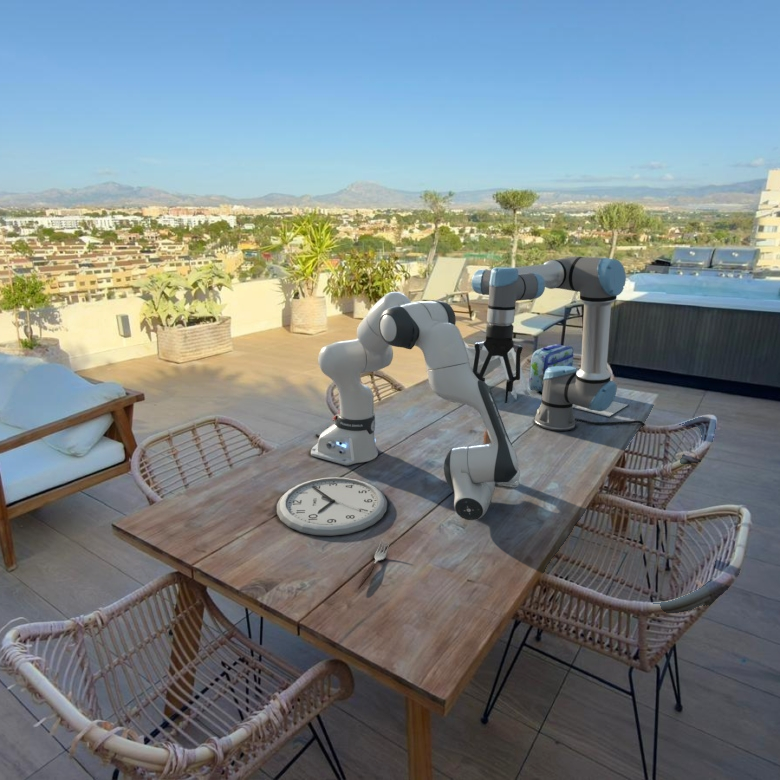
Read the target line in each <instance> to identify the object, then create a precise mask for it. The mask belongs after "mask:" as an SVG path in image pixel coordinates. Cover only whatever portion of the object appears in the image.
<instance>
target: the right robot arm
mask: <svg viewBox="0 0 780 780" xmlns="http://www.w3.org/2000/svg"><path fill="white" fill-rule="evenodd" d="M626 277H627V275H626V269H625V267H624V265H623V264H622V262H621V261H620V260H618V259H615V258H609V257H597V256H595V257H593V256H569V257H564V258H557V259H550V260H548V261H545V262H544V263H543V264H534V265H526V266H516V267H508V266H507V267H506V266H502V267H501V266H496V267H493V268H492V269H487V268H485V269H478V270H476V271H475V272H474V274H473V275H472V277H471V288H472V290H473V291H474V292H475V293H476V294H480V295H482V296H488V305H487V312H486V313H487V315H486V322H487V324H486V328H485V329H486V330H485V338H484V340H483V341H480V342H478V341H476V342H475V343H474V345H473V347H474V346H475V351H476V353H475V359H474V366H473V373H474V375H475V376H476V377H477V378H478V379H479V380H481V381H484V382H485V383H486V377H483V375H484V373H485V371H486V368H487V366H488V364H489V361H490V359H491V357H492V356H501V357H503V359H504V362H505V366H506V370H507V373H508V377H509V380H508V379H507V380H506V383H505V395H504V404H508V400H509V393H511V392H512V391H513V385H514V382H515V381H520V365H521V354H522V351H523V345H522V344H516V343H514V340H513V339H514V338H513V337H514V325H513V324H515V316H516V315H515V314H516V304H517V302H521V301H532V300H535V299H539V298H540V297H542V296H543V294H544V292H545V289H549V290H553V289H558V290H559V289H560V290H565V291H572V292H578V293H579V300H580V301H581V302H582V303H583V320H582V321H583V322H582V338H581V339H582V341H581V355H580V356H581V360H580V368H579V369H578V368H577V367H576V366H573V365H572V366H554V367H550V368H547V369H546V371H545V374H544V378H543V379H544V381H543V391H542V392H541V393H542V394H541V402H540V405H539V407H538V408H537V410H536V413H535V417H534V424H535V425H536V426H537V427H539V428H542V429H544V430H549V431H556V432H567V431H572V430H574V429H575V428H576V422H579V423H585V424H589V425H597V426H598V425H600V426H601V425H624V424H625V425H627V424H629V425H630V424H631V425H632V424H640V425H642V426H646V423H644V421H642V420H628V421H627V420H623V421H590V420H585V419H581V418H575V417H576V416H575V413H574V407H573V405H574V406H581V407H584V408H587V409H590V410H595V411H604V410H606V409H607V408H608V407H609V406H610V405H611V403H612V402H613V401H614V400H615V398H616V395H617V391H618V385H617V383H616V382H615V381H613V380H611V379H612V378H611V377H612V376H611V375H612V374H611V372H610V371H609V369H607V368H608V355H609V343H610V341H609V340H610V326H611V314H612V313H611V312H612V304H613V303H614V302H615V301H617V296H619V295H621V294H622V292H623V291H624V289H625V288H624V287H625V285H626V279H627V278H626ZM483 346H485V348H486V349H487V351H488V355H487V357H486V359H485V362H484V364H483V366H482V369H481V371H480V373H478V372H477V369H478V363H479V356H480V350H482V347H483ZM512 348H514V352H516V366H515V374H514V373H513V370H512V365H511V362H510V360H509V358H508V352H509V351H510V350H511V349H512Z"/></svg>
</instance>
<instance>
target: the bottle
mask: <svg viewBox="0 0 780 780" xmlns="http://www.w3.org/2000/svg"><path fill="white" fill-rule="evenodd" d="M489 443H491V440H490V437H489V435H488V432H487V430H486V429H485V430H484V433H483V440H482V445H483V444H489Z"/></svg>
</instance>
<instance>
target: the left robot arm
mask: <svg viewBox="0 0 780 780" xmlns="http://www.w3.org/2000/svg"><path fill="white" fill-rule="evenodd" d="M456 319H457V318H456V314H455V311H454V309H453V307H452V306H451V305H450V304H449V303H448V302H445V301H443V300H442V301H441V300H435V299H433V300H428V301H427V300H426V301H423V300H422V301H414V302H412V301H411V300H410V299H409V298H408V296H407V295H405V294H404V293H403V292H399V291H391V292H388V293H386V294H384V295H383V296H382V297H381V298H380V299H378V301H377V302H375V303H374V305H373V306H371V308H370V309H369V310H368V312H367V313H366V314H365V316H363V318H362V319H361V321H360V323H359V324H358V326H357V328H356V337H357V338H356V339H355V338H354V339H350V340H349V339H348V340H342V341H335V342H333V343H330V344H327V345H325V346H322V347H321V349H320V351H319V353H318V357H317V363H318V366H319V369H320V371H321V372H322V373H323V374H324V375H325V376H326V377H327V378H329V379H330V380H331V381H332V382H333V383H334V385H335V386H336V390H337V392H338V402H339V410H338V411H337V413H336V414H335V415H334V416H333V417H332V422H334V423H333V424H331V425H330V426H327V427H326V428H325V430H323V431H322V432H321V433H320V434H317V433H316V434H315V437H316V438H318V440H317V443H316V444H314V445H313V447H312V448H311V449H310V456H311V457H314V458H318V459H322V460H325V461H329V462H333V463H336V464H339V465H344V466H351V465H354V464H361V463H367V462H370V461H373V460H375V459H376V458H377V457H378V455H379V451H378V448H377V443H376V442H377V441H376V437H375V430H376V414H375V412H374V409H375V408H374V406H375V405H374V404H375V400H374V399H375V396H374V392H373V389H372V388H371V387H369V385H367V384H364V383H362V382H361V375H362V374H368V373H373V372H377V371H381V370H383V369H385V368H387V367H389V366H390V365H391V364H392V362H393V358H394V350H393V347H395V348H403V349H406V350H412V349H413V348H414V347H417V348H419V349H420V350H421V352H422V354H423V358H424V362H425V369H426V375H427V379H428V383H429V386H430V388H431V390H432V391H433V393H435V395H436V396H438V397H439V398H442V399H443V400H446V401H448V402H452V403H456V404H462V405H466V406H469V407H471V408H473V409H475V411H477V412H478V413H479V415H480V416H481V419H482V422H483V424H484V426H485V430H487V432H488V435H489V437H490V440H491V443H489V444H483V443H482V444H475V445H465V446H457V447H456V446H455V447H452V448H451V449H450V450H449V451H448V453H447V454H446V456H445V458H444V462H443V473H444V478H445V482H446V483H447V486H448V487H449V488H450V489H451V491H453V493H454V498H453V499H454V500H453V507H454V511H455V513H456V515H458V517H460V518H462V519H463V520H466V521H475V520H476V521H477V520H479V519H481V518H482V517H483V516H484V515H485V514H486V513H487V511H488V509H489V507H490V504H491V501H492V496H493V495H494V492H495V488H499V489H503V490H514V489H515V488H516V489H517V488H519V485H520V476H521V475H520V474H521V470H520V469H519V463H520V462H519V458H518V455H517V452H516V451H515V449H514V446H513V444H512V442H511V440H510V437H509V435H508V432H507V431H506V428H505V425H504V422H503V420H502V416H501V414H500V411H499V409H498V406H497V404H496V402H495V399H494V396H493V394H492V392H491V388H489V386H488V384H487V383H486V381H485V382H484V381H481V380H479V379H478V378H477V377H476V376H475V375H474V373H473V371H472V369H471V367H470V363H469V358H468V354H467V350H466V347H465V343H466V342H465V340H464V338H463V334H462V333H461V331H460V328H459V327H458V326H457V325H456V323H457V322H456ZM463 340H464V341H463ZM464 342H465V343H464Z"/></svg>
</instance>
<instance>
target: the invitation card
mask: <svg viewBox="0 0 780 780" xmlns="http://www.w3.org/2000/svg"><path fill="white" fill-rule="evenodd" d="M628 406H629V404H627V403H623V402H618V401H614V400H613V402H612V403H611V405H610V406H609V407H608V408H607V409H606V410H604V411H595V410H590V409H587V408H584V407H581V406H577V405H575V406H574V407H573V409H575V410H581V411H584V412H587V413H593V414H596V415H600V416H604V417H608V418H609V417H611V416H613V415H614V414H616V413H617V412H619V411H621V410H623V409H624V408H626V407H628Z"/></svg>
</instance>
